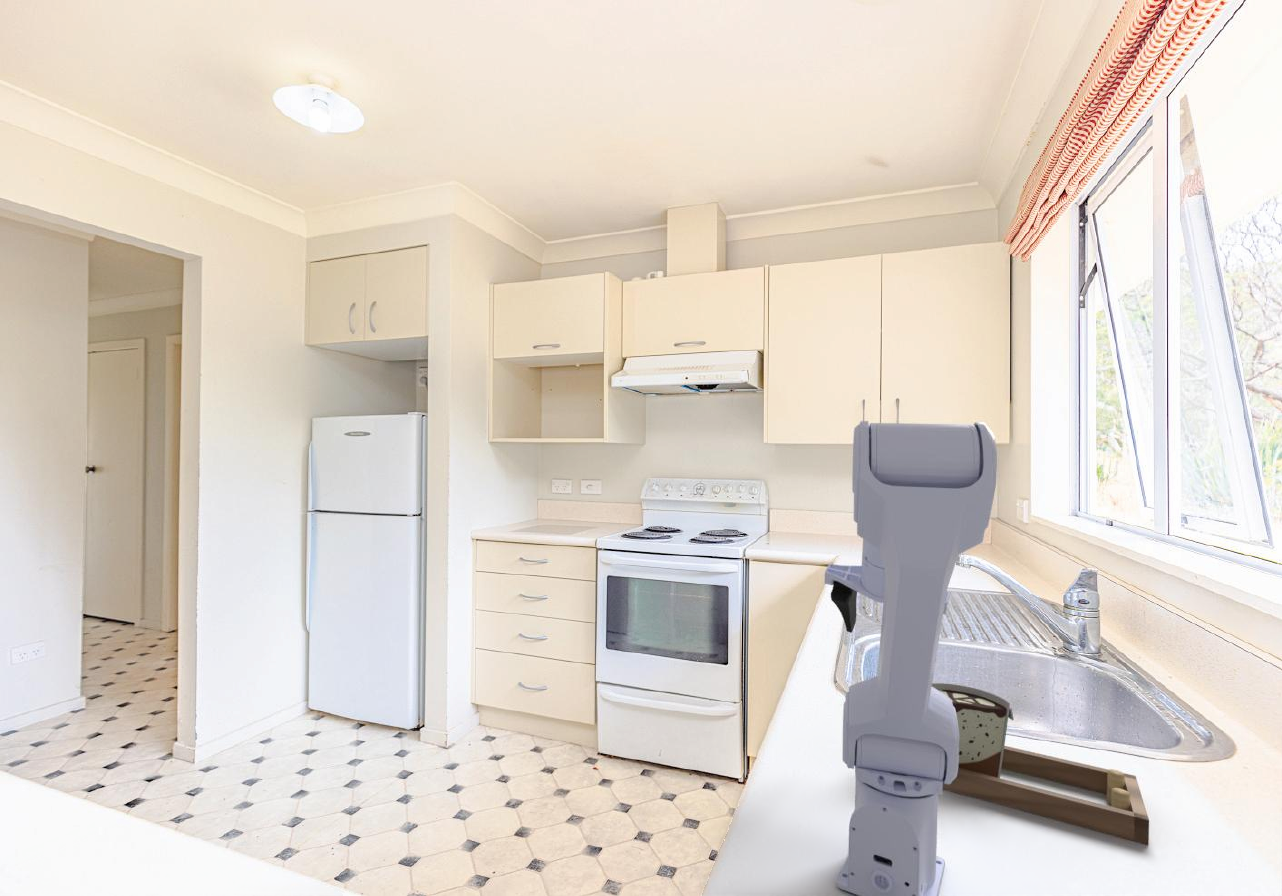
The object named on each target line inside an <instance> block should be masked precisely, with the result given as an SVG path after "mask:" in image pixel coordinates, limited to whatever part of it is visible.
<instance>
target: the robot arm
mask: <svg viewBox="0 0 1282 896" xmlns="http://www.w3.org/2000/svg"><path fill="white" fill-rule="evenodd" d="M852 440H853V442H852V447H853V448H852V472H851V473H852V474H851V475H852V478H851V479H852V480H851V481H852V482H851V483H852V489H851V490H852V493H853V521H854V522H855V523H856V535H857V536H858V537H860V538H861V539H862V552H861V553H862V554H861V565H846V564H845V565H844V564H843V565H841V564H834V563H828V565H827V567H826V569H825V571H824V584H825V585H829V586H832V590H831V592H830V600H831V602H833V603H834V605H835V606H836V607H837V609H838V611H839V613H840V614H841V617H842V619H843V622H844V625H845V629H846V632H847V633H850V634H851V633H853V631H854V628H855V625H856V623H857V600H858V599H857V597H858V594H861V595H863V596H864V597H866V598H868V599H869V600H871V601H874V602H877V603H881V604H882V613H881V614H882V615H881V625H880V627H881V628H880V637H879V638H880V639H879V651H878V662H877V672H876V673H877V675H875V676H873V677H870V678H868V679H867V678H866V679H864V680H862V681H859V682H856V683H853V684H851V685H850V686H849V687H848V691H847V692H846V693H845V701H844V703H843V709H842V710H843V712H842V713H843V715H842V762H843V763H844V764H845V765H846V767H847V768H848V769H851V770H852V769H853V770H854V773H855V774H854V775H855V777H854V778H855V788H854V789H855V793H854V794H855V795H854V799H855V800H854V809H853V812H852V814H851V816H850V819H849V825H848V849H847V851H848V854H847V858H846V860H845V862H844V864H843V866H842V869H840V872H839V875H838V876H837V879H836V887H838V889H841V890H843V891H846V892H849V893H851V894H854V895H856V896H939V893H940V888H941V884H942V879H943V875H944V871H945V867H946V860H945V859H944V858H942V857H940V856H939V855H937V848H938V847H937V845H938V841H937V840H938V837H937V836H938V811H939V810H938V808H939V806H938V805H939V804H938V803H939V796H942V795H943V790H944V789H943V783H944V784H951V783H952V781H953V780H954V779H955V778H956V777H957V773H958V764H959V728H958V720H957V714H956V710H955V707H954V706H953V704H952V700H951V699H950V698H949V697H947V696H946V695H945V694H943V693H942V692H940V691H938V690H937V689H935V688H934V687H932V683H933V680H934V674H935V667H936V660H937V656H938V655H937V654H938V649H939V642H940V635H941V631H942V630H941V629H942V623H943V617H944V616H946V614H947V611H948V608H949V607H948V606H949V600H950V594H951V593H950V592H949V591H948V588H949V585H950V581H951V578H952V575H953V572H954V569H955V566H956V563H957V560H958V557H959V555H961V554H962V553H963V554H964V553H965V552H967V551H968V550H971V549H973V548H975V547H977V546H978V545H980V544H982V543H983V542H984V537H985V531H986V530H987V528H989V524H990V518H991V514H992V509H993V503H994V497H995V492H996V488H997V472H998V470H997V468H998V453H997V444H996V443H997V442H996V438H995V435H994V433H993V431H992V430H991V429H990V428H989V427H988V426H987V424H986V423H985V422H981V421H980V422H979V421H978V422H977V421H976V422H974V423H973V424H968V423H966V424H965V423H958V424H956V423H900V422H899V423H898V422H896V423H894V422H891V423H890V422H870V423H869V421H868V420H860V422H859V424H857V425H856V426H855V427H854V429H853V439H852Z"/></svg>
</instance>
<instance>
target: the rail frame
mask: <svg viewBox="0 0 1282 896" xmlns="http://www.w3.org/2000/svg"><path fill="white" fill-rule="evenodd" d="M1001 769H1004V770H1008V771H1013V772H1016V773H1021V774H1025V775H1029V776H1033V777H1035V778H1036V777H1037V778H1041V779H1046V780H1049V781H1053V782H1058V783H1061V784H1065V785H1069V786H1073V787H1078V788H1082V789H1085V790H1089V791H1094V792H1097V793H1103V794H1106V803H1108V804H1109V805H1106V804H1102V803H1099V802H1094V801H1091V800H1086V799H1083V798H1079V797H1075V796H1071V795H1066V794H1063V793H1060V792H1055V791H1051V790H1047V789H1043V788H1039V787H1035V786H1031V785H1028V784H1024V783H1019V782H1016V781H1012V780H1008V779H1006V778H1001V777H1000V778H997V777H993V776H989V775H985V774H981V773H977V772H973V771H969V770H965V769H961V768H958V773H957V777H956V778H955V779H954V780H953V781H952V783H951V784H944V783H943V789H942V790H946V791H948V792H949V791H950V792H953V793H957V794H961V795H965V796H967V797H972V798H974V799H975V798H976V799H979V800H982V801H986V802H989V803H994V804H998V805H1002V806H1005V807H1008V808H1012V809H1014V810H1015V809H1016V810H1020V811H1024V812H1026V813H1030V814H1034V815H1037V816H1041V817H1045V818H1048V819H1052V820H1056V821H1060V822H1064V823H1067V824H1071V825H1074V826H1079V827H1081V828H1085V829H1089V830H1093V831H1096V832H1099V833H1104V834H1107V835H1111V836H1115V837H1118V838H1122V839H1126V840H1129V841H1133V842H1136V843H1140V844H1144V845H1147V846H1148V845H1150V844H1149V838H1150V837H1149V836H1150V819H1149V815H1148V811H1147V809H1146V807H1145V806H1146V805H1145V801H1144V799H1143V797H1142V793H1141V790H1140V786H1139V783H1138V779H1137V776H1136V775H1133V774H1130V773H1129V774H1128V773H1124V772H1122V771H1120V770H1117V769H1111V768H1110V769H1107V768H1103V767H1099V766H1094V765H1090V764H1086V763H1081V762H1077V761H1074V760H1073V761H1072V760H1068V759H1065V758H1064V759H1063V758H1059V757H1054V756H1051V755H1046V754H1041V753H1039V752H1032V751H1030V750H1025V749H1020V748H1016V747H1011V746H1008V745H1004V752H1003V760H1002V767H1001ZM1110 805H1111V806H1110Z"/></svg>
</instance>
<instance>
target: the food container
mask: <svg viewBox="0 0 1282 896" xmlns="http://www.w3.org/2000/svg"><path fill="white" fill-rule="evenodd" d="M932 687H934V688H935V689H937V690H938V691H940V692H942V693H943V694H945V695H946V696H947V697H949V698H950V699H951V700H952V704H953V706H954V707H955V710H956V714H957V720H958V728H959V764H958V768H961V769H965V770H969V771H973V772H977V773H981V774H985V775H989V776H993V777H997V778H1001V773H1002V772H1001V771H1002V768H1001V767H1002V760H1003V752H1004V746H1006V737H1007V730H1008V722H1009V719H1010V720H1012V721H1015V719H1014V713H1013V708H1012V707H1011V705H1010V702H1009V701H1008V700H1006V699H1005V698H1003V697H1000V696H999V695H997V694H994V693H992V692H989V691H986V690H983V689H980V688H975V687H971V686H967V685H961V684H955V683H945V682H932Z"/></svg>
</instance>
